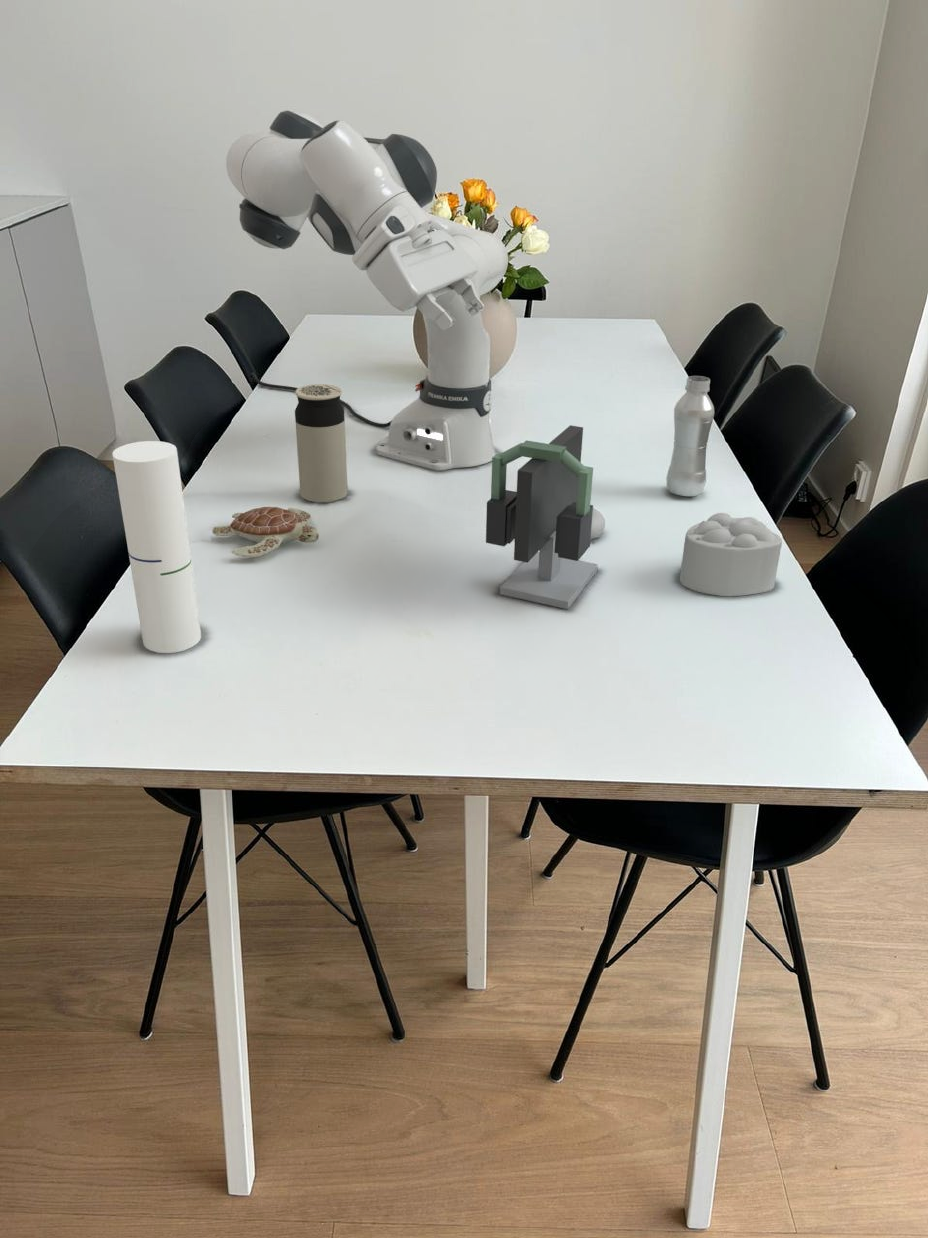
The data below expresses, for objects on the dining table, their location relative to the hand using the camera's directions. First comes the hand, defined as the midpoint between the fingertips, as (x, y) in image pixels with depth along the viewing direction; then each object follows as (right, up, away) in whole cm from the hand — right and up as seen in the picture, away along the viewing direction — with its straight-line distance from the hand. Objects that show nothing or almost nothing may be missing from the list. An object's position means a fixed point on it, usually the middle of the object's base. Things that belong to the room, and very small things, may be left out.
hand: (465, 318), depth 133 cm
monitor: (+11, -34, +11) cm, 38 cm away
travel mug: (-24, -19, +39) cm, 49 cm away
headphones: (+10, -29, +5) cm, 31 cm away
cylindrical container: (-37, -42, -4) cm, 56 cm away
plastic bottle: (+38, -18, +41) cm, 59 cm away
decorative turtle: (-30, -27, +23) cm, 46 cm away
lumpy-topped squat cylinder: (+37, -34, +13) cm, 52 cm away
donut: (+17, -26, +27) cm, 41 cm away
